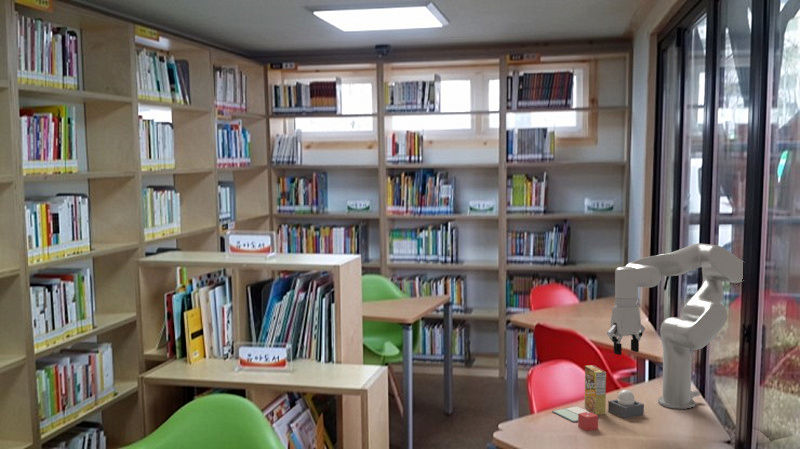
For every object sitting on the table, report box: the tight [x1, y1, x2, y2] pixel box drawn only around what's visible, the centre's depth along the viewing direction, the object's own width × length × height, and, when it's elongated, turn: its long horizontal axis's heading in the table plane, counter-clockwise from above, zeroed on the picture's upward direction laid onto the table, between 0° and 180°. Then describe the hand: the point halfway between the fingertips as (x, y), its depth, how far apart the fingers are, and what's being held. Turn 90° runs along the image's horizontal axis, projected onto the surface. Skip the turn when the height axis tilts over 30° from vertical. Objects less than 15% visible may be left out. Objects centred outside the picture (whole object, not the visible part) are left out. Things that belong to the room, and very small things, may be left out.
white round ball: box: [617, 389, 635, 407], centre depth 247 cm, size 6×6×6 cm
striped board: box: [551, 405, 600, 423], centre depth 247 cm, size 11×12×1 cm
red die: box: [577, 411, 599, 432], centre depth 234 cm, size 4×4×5 cm
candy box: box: [584, 365, 607, 416], centre depth 250 cm, size 9×4×15 cm, turn 11°
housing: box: [607, 398, 645, 420], centre depth 247 cm, size 8×8×4 cm
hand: (626, 352), depth 246 cm, fingers open, 7 cm apart
